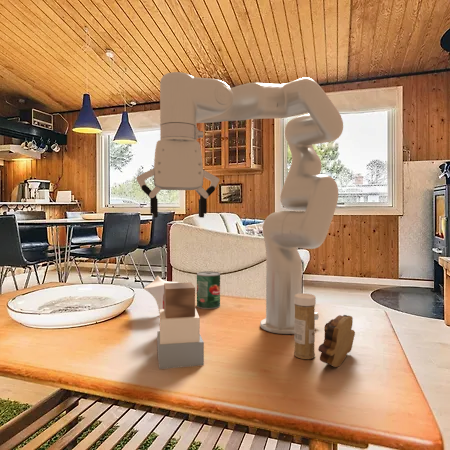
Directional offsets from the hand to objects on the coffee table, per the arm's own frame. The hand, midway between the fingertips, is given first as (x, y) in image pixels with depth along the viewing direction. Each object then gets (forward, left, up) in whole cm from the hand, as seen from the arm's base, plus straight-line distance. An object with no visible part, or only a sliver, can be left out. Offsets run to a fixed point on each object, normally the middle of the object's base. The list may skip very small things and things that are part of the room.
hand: (178, 217), depth 79 cm
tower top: (0, 0, -26) cm, 26 cm away
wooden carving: (-32, +9, -31) cm, 45 cm away
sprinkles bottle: (-27, +4, -31) cm, 41 cm away
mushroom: (+2, -35, -31) cm, 46 cm away
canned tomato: (-14, -43, -31) cm, 54 cm away
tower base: (0, 0, -31) cm, 31 cm away
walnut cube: (0, 0, -20) cm, 20 cm away
